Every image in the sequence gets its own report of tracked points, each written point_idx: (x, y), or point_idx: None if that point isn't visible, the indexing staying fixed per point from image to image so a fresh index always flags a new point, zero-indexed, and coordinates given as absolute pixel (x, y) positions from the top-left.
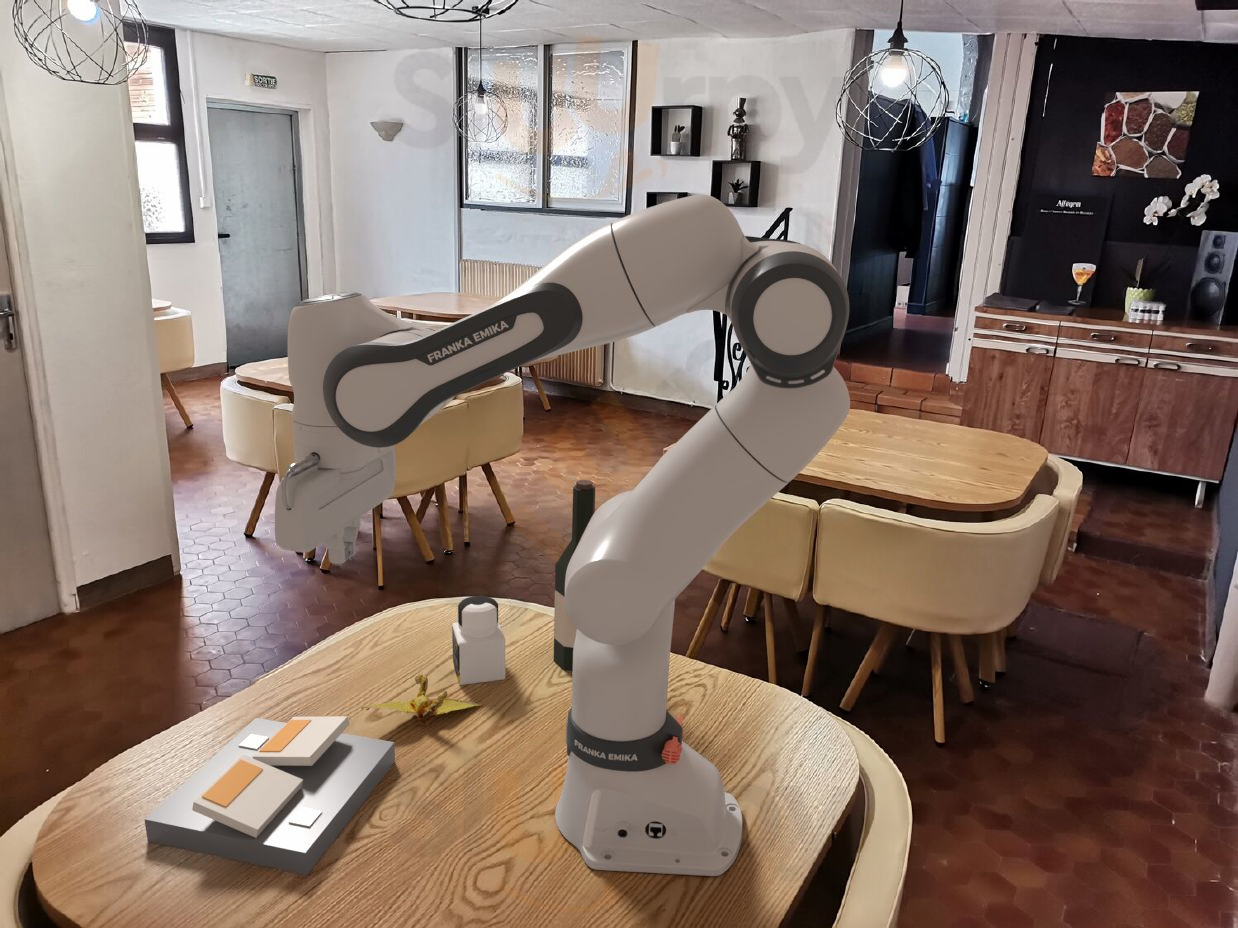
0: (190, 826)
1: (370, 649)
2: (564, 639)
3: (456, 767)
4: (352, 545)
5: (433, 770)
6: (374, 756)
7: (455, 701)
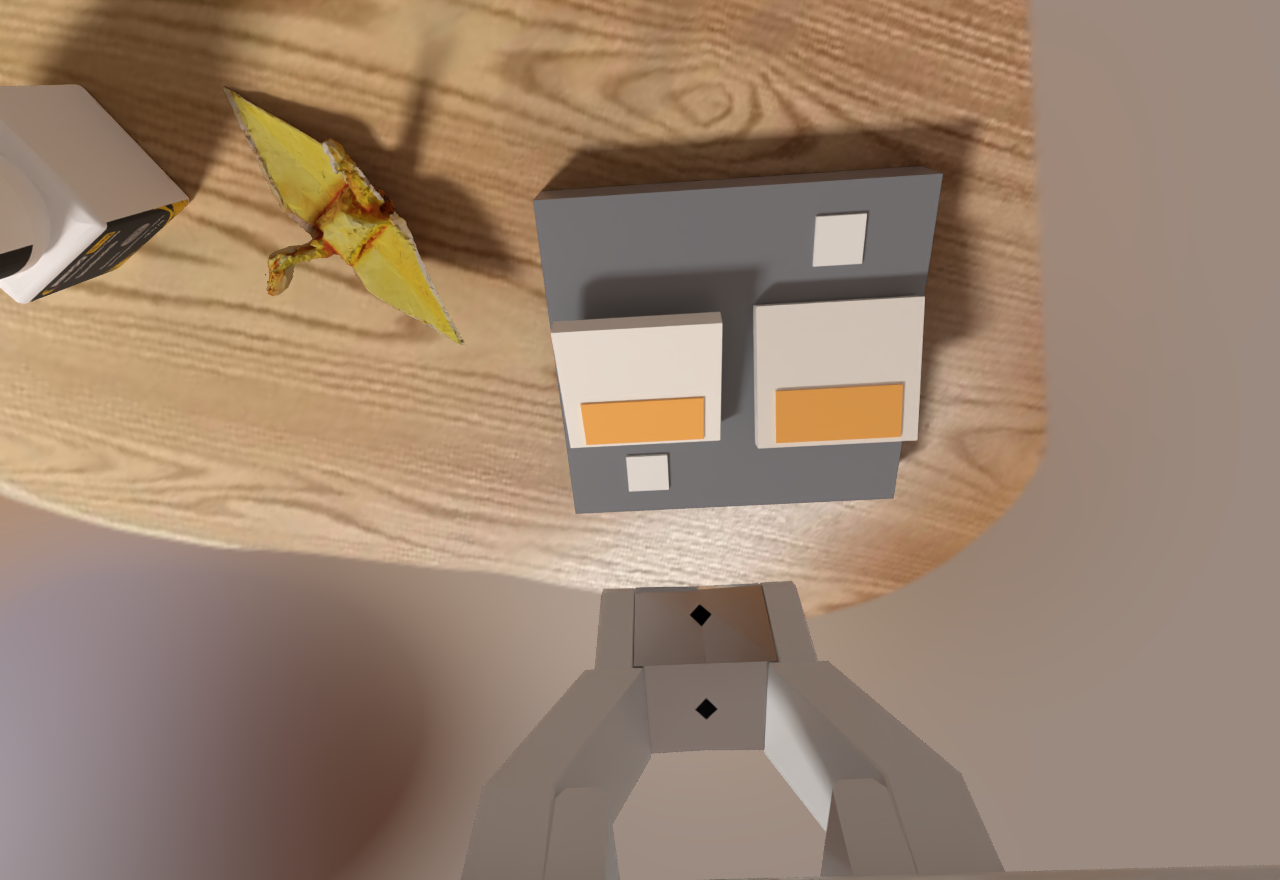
0: None
1: (207, 471)
2: None
3: (496, 22)
4: (651, 648)
5: (531, 79)
6: (600, 215)
7: (268, 164)
